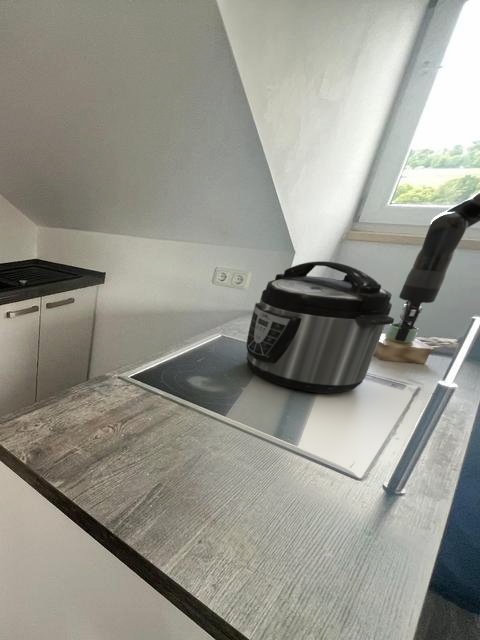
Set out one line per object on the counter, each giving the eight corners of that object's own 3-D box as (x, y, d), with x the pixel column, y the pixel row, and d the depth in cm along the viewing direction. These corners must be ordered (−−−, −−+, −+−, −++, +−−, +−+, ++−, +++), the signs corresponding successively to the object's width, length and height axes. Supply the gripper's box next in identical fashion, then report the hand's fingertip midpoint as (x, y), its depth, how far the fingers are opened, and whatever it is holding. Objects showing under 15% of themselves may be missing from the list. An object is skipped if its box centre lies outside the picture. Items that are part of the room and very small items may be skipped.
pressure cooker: (236, 348, 129) (260, 251, 117) (343, 363, 118) (383, 256, 105) (241, 386, 105) (273, 269, 92) (377, 410, 93) (434, 278, 80)
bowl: (409, 338, 122) (415, 325, 120) (415, 345, 117) (421, 331, 115) (382, 335, 125) (388, 322, 123) (386, 341, 120) (392, 327, 118)
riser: (404, 349, 126) (411, 335, 124) (428, 364, 116) (435, 349, 114) (359, 346, 130) (365, 332, 128) (378, 360, 119) (385, 345, 117)
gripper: (442, 290, 107) (417, 346, 113) (439, 281, 116) (415, 334, 123) (404, 286, 111) (382, 340, 118) (404, 278, 121) (383, 328, 128)
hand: (399, 337), depth 120 cm, fingers closed on bowl, 6 cm apart
